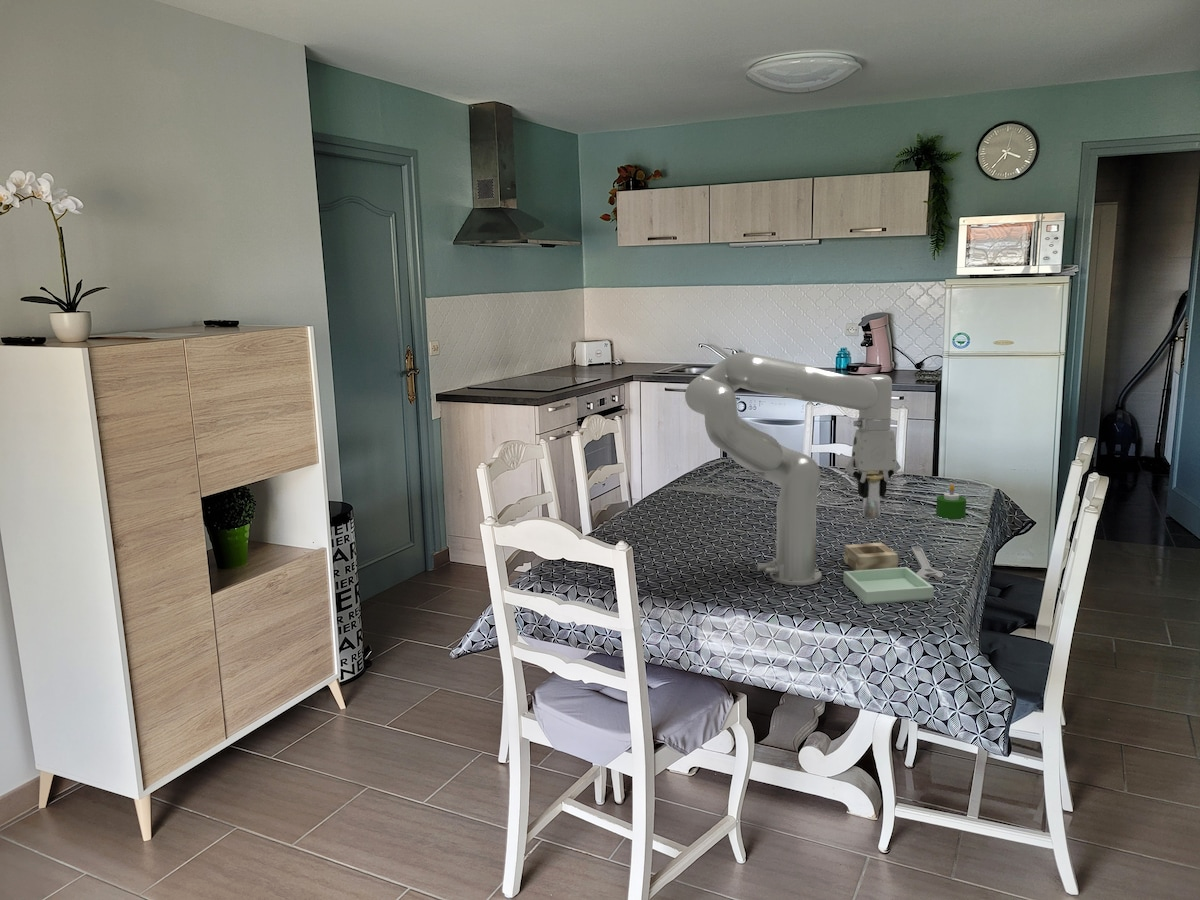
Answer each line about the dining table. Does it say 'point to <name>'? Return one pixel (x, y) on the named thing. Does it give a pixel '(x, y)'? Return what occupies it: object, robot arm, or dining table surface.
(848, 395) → the robot arm
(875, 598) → the tray
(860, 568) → the block
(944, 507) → the candle
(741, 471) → the dining table surface
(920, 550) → the adjustable wrench
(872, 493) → the gold-capped cylinder
